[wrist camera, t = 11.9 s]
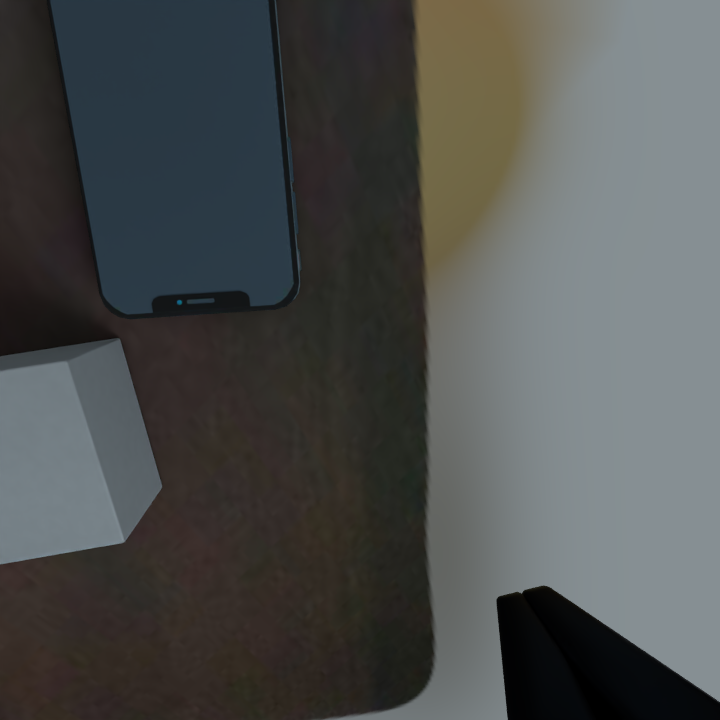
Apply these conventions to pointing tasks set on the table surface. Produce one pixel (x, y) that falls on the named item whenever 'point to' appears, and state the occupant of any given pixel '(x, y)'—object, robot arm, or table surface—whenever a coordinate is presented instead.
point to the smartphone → (181, 152)
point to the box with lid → (71, 451)
